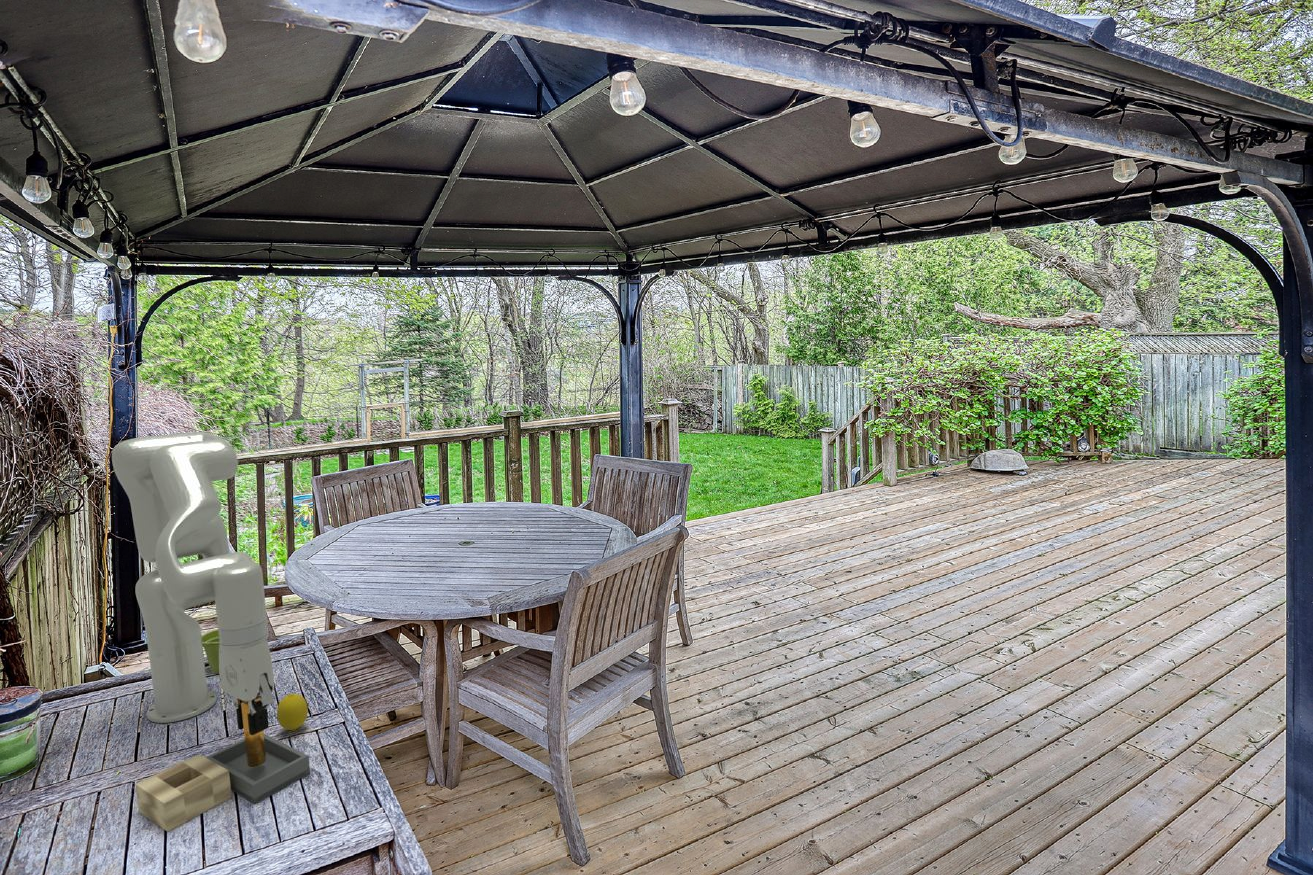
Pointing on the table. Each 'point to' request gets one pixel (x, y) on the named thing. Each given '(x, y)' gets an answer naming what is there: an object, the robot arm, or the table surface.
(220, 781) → the pin block
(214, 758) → the tray
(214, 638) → the plant pot
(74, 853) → the table surface
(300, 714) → the lemon
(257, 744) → the pin
